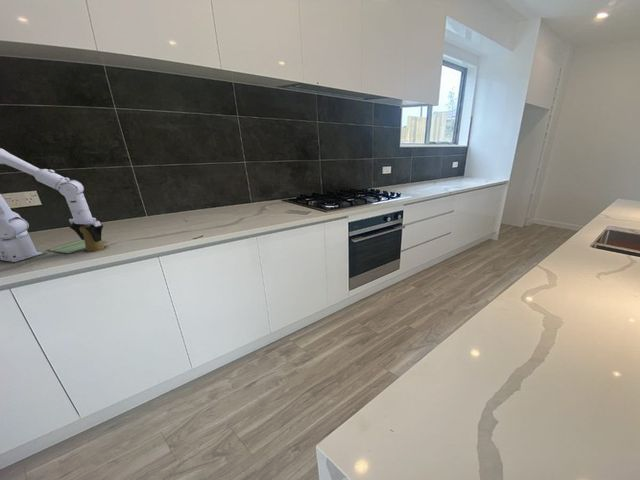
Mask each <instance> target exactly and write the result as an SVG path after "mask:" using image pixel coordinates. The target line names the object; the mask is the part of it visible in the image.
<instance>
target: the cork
mask: <svg viewBox="0 0 640 480" xmlns="http://www.w3.org/2000/svg"><path fill="white" fill-rule="evenodd" d="M89 226H90V225H84V226H81V227H80V228H79V229H80V232H81V233H83V236H84V241H85V246H86V248H85V250H86V252H97V251H101V250H104V249H105V246H104V243H102V242H103V241H102V240H101V241H98V242H95V241H94V239H93V237H92V235H91V234H90V233H89V231H88V230H87V229H85V227H89Z"/></svg>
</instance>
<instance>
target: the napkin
mask: <svg viewBox="0 0 640 480" xmlns="http://www.w3.org/2000/svg"><path fill="white" fill-rule="evenodd" d="M101 242H102V244H104V241H101ZM84 249H85V250H86V246H85V241H84V240H82V239H80V240H76V241H74V242H70V243H67V244H62V245H60V246H56V247H53V248H49V249H47V251H49V252H55V253H62V254H68V255H69V254H72V253H76V252H78V251H82V250H84Z"/></svg>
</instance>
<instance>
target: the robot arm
mask: <svg viewBox="0 0 640 480" xmlns="http://www.w3.org/2000/svg"><path fill="white" fill-rule="evenodd" d="M0 165H6V166H8V167H12V168H14V169H15V170H16V169H17V170H19V171H21V172H23V173H26V174H28V175H30V176H33V177H34V179H35V181H37V182H39V183H41V184H43V185H46V186H48V187H50V188H52V189H54V190H57V191H58V193H60V195H62V196H64V198H65V200H66V203H67V205H68V209H69V210H70V213H71V216H72V218H68V221H69V223H70V225H68V227H69V228H70V229H71V230H72V231H74V232H75V233H76V234H77V236H78V238H80V240H84V236H83V233H81V232H80V229H79V228H80V227H81V226H84V225H90V226H89V227H85V229H87V230H88V231H89V233H90V234H91V235H92V237H93V239H94V241H95V242H98V241H101V242H102V231H103V228H104V224H101V222H100V221H99V220H97V218H96V217H93V215H92V212H91V211H90V207H89V205H88V202H87V199H86V197H85V194H84V191H85V186H84V185H83V184H82V183H81V182H80V181H78V180H76V179H70V178H69V177H64V176H62V175H60V174H58V173H57V172H56V171H55V170H54V169H48V168H39V167H37V166H35V165H33V164H31V163H29V162H27V161H25V160H24V159H21V158H19V157H17V156H16V155H14V154H12V153H10V152H8V151H7V150H5V149H3V148H1V147H0ZM29 228H30V225H29V222H28V221H27V220H25V218H22V217H21V215H20V214H19V213H17V212H15V211H14V210H13V211H12V209H11V208H10V206H9V205H8V202H6V200H5V198H4V197H3V195H2V194H1V193H0V261H6V262H11V263H17V262H19V261H23V260H26V259H30V258H34V257H37V256H41V255H43V254H44V252H42V251H37V249H36V246H35V244H34V242H33V240H32V237H31V236H30V234H29V231H28V230H29Z"/></svg>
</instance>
